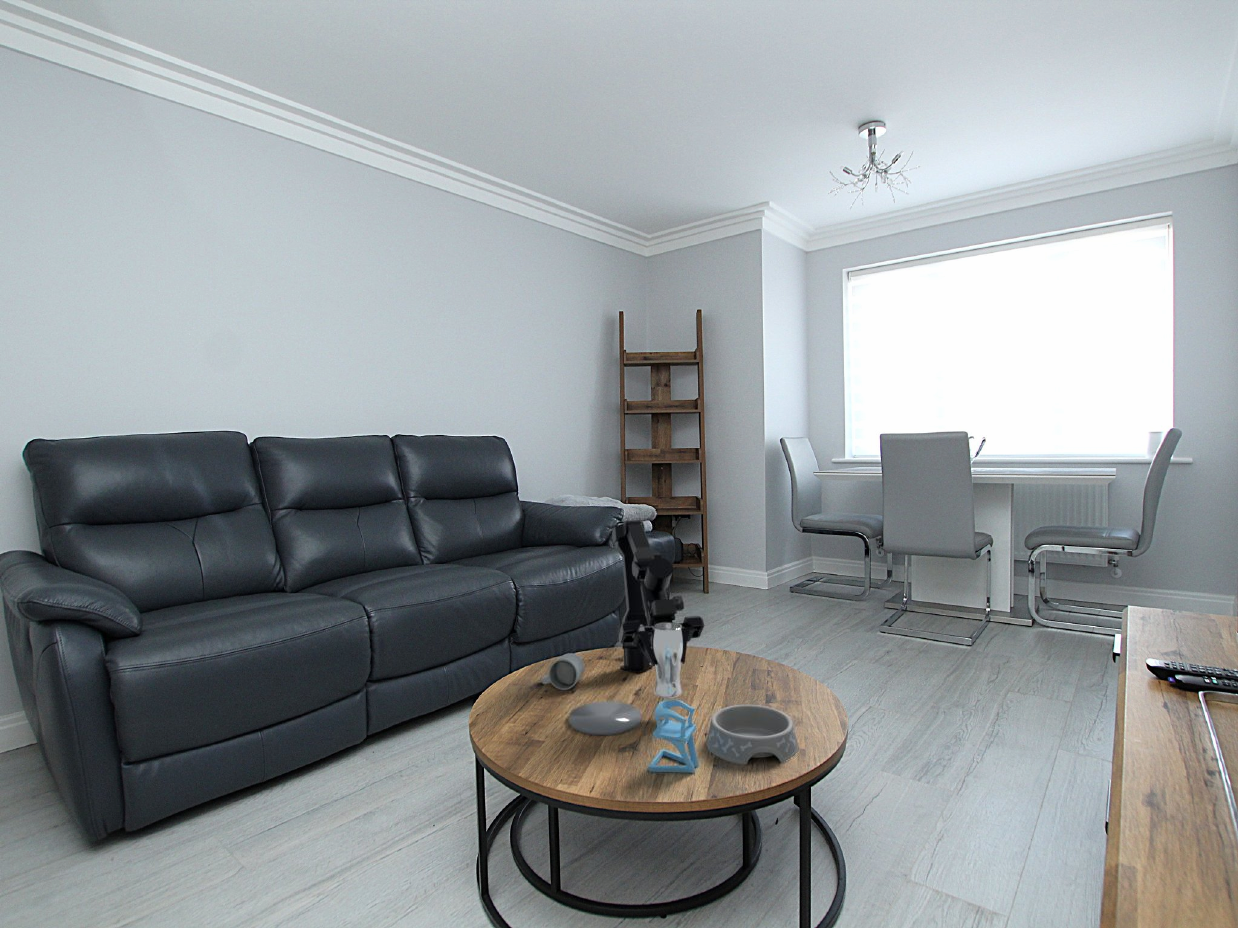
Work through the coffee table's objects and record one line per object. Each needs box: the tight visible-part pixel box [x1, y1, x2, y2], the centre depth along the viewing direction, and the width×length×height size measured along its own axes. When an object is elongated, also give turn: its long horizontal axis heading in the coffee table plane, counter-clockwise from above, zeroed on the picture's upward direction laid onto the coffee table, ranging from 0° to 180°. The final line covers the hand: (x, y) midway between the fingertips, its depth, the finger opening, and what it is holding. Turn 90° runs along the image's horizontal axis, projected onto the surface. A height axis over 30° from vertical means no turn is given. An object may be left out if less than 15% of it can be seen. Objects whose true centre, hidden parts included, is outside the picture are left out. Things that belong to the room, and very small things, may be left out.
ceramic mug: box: [540, 653, 585, 691], centre depth 174 cm, size 11×8×8 cm
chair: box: [647, 699, 700, 774], centre depth 129 cm, size 8×8×12 cm
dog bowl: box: [705, 704, 800, 765], centre depth 137 cm, size 17×18×5 cm
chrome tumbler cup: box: [651, 621, 683, 699], centre depth 152 cm, size 7×7×15 cm
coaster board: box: [568, 700, 642, 736], centre depth 151 cm, size 16×16×1 cm
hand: (668, 664), depth 150 cm, fingers closed on chrome tumbler cup, 6 cm apart
